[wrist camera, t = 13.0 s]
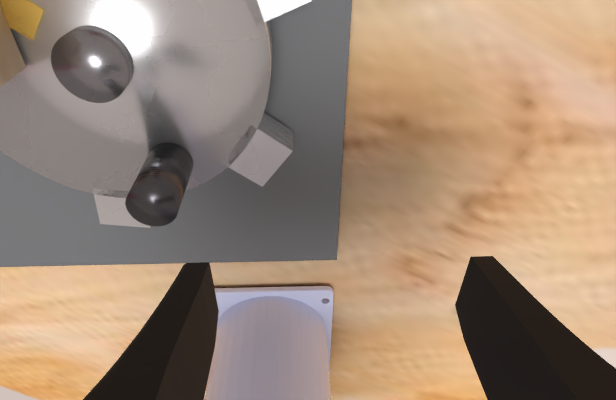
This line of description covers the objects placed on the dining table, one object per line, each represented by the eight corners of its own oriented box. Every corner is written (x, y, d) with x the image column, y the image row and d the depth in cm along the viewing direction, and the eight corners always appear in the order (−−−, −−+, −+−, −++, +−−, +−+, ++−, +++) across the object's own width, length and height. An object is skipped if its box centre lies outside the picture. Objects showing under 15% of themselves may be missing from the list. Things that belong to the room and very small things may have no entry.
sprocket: (388, 14, 16) (418, 57, 12) (200, 243, 23) (182, 317, 19) (-100, -417, 10) (-338, -596, 6) (-161, 69, 16) (-294, 126, 13)
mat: (335, 247, 25) (336, 259, 24) (-89, 256, 24) (-102, 269, 23) (361, -245, 13) (366, -253, 12) (-485, -252, 12) (-539, -261, 11)
